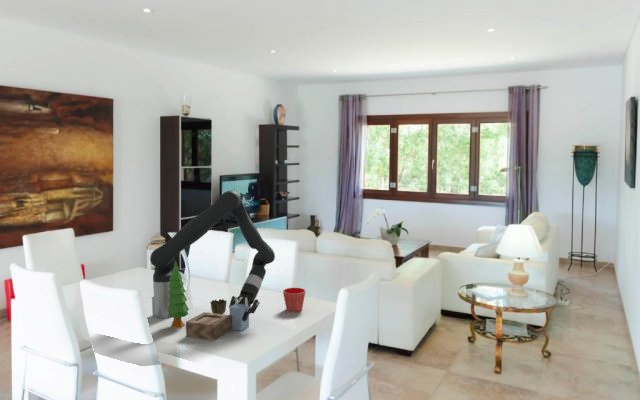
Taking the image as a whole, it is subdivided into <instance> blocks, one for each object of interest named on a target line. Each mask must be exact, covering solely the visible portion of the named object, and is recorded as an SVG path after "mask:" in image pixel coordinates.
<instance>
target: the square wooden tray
mask: <svg viewBox="0 0 640 400" xmlns="http://www.w3.org/2000/svg"><path fill="white" fill-rule="evenodd" d="M232 330H233V329H232V315H230V314H225V313H224V314H215V313H212V312H202V313H200V314H198V315H196V316H194V317H192V318H190V319H189V320H186V321H185V333H186V338H192V339H193V338H194V339H200V340H201V339H202V340H207V339H209V340H208V341H217V340H218V339H220V338H222V337H223V336H225V335H226V334H228V333H229V332H231V331H232ZM221 336H222V337H221ZM216 339H217V340H216Z"/></svg>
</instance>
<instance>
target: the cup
mask: <svg viewBox="0 0 640 400" xmlns="http://www.w3.org/2000/svg"><path fill="white" fill-rule="evenodd" d="M226 309H227V300H226V299H223V298H222V299H221V298H219V299H218V300H217V299H212V300H210V310H211V313H215V314H225V312H226V311H227V310H226Z"/></svg>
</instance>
